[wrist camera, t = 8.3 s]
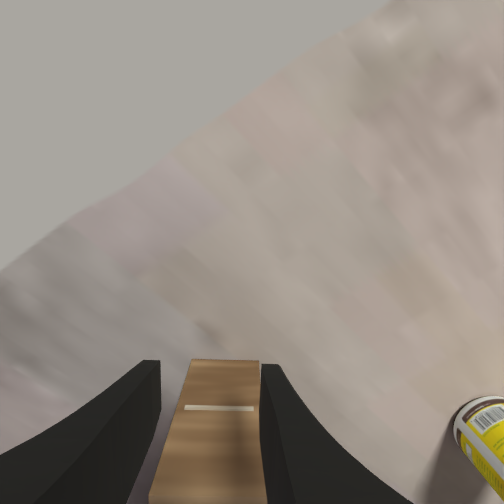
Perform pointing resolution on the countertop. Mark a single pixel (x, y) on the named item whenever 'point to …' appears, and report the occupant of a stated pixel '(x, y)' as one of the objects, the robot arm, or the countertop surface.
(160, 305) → the countertop surface
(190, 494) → the walnut domino
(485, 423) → the supplement bottle
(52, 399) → the countertop surface
